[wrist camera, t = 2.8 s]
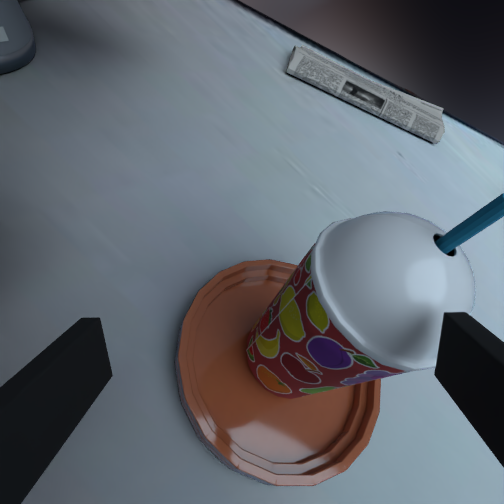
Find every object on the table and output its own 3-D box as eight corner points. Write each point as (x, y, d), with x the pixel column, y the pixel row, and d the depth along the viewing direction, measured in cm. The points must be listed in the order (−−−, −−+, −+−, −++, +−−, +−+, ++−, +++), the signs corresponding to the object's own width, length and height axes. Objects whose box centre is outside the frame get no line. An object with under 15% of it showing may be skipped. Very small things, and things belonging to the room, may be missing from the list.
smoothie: (307, 309, 30) (509, 140, 14) (334, 403, 26) (664, 307, 10) (224, 313, 27) (370, 103, 11) (241, 421, 22) (512, 322, 7)
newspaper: (285, 74, 58) (293, 55, 55) (291, 50, 65) (299, 32, 63) (440, 149, 63) (454, 134, 61) (429, 118, 71) (442, 105, 68)
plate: (190, 256, 29) (195, 243, 27) (347, 287, 34) (359, 277, 32) (154, 484, 19) (158, 485, 17) (383, 484, 24) (404, 486, 22)
